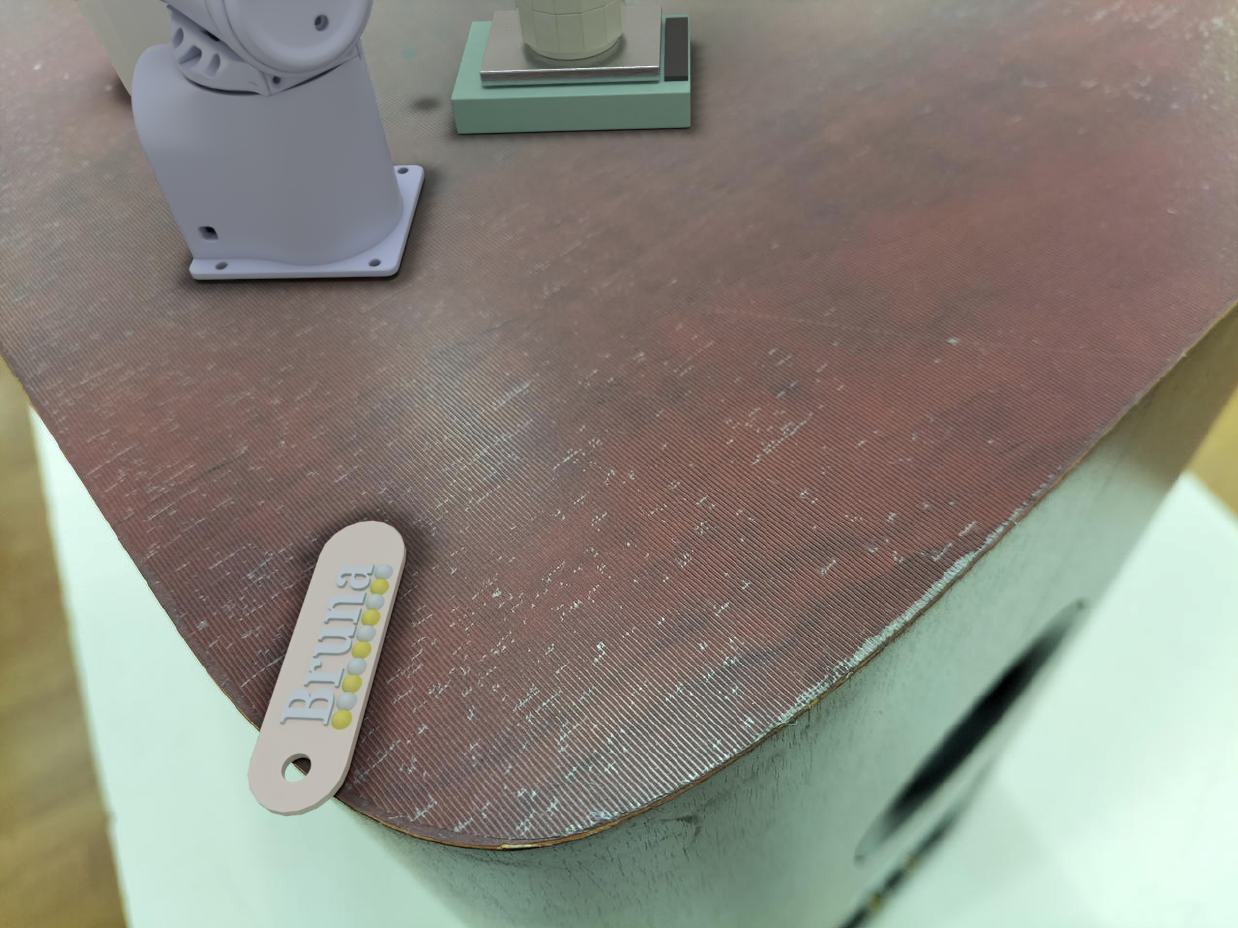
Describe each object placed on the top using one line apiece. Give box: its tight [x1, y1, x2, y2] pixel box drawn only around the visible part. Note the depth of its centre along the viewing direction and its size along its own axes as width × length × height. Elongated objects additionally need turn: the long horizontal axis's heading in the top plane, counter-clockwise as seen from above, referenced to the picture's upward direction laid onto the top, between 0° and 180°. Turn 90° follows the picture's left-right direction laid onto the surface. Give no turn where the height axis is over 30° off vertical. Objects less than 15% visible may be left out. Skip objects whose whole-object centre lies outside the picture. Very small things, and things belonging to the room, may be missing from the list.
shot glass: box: [74, 0, 171, 97], centre depth 55 cm, size 7×7×7 cm
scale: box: [450, 13, 692, 135], centre depth 53 cm, size 12×8×2 cm, turn 88°
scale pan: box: [479, 4, 663, 86], centre depth 52 cm, size 9×6×1 cm
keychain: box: [246, 520, 407, 817], centre depth 32 cm, size 10×1×3 cm
